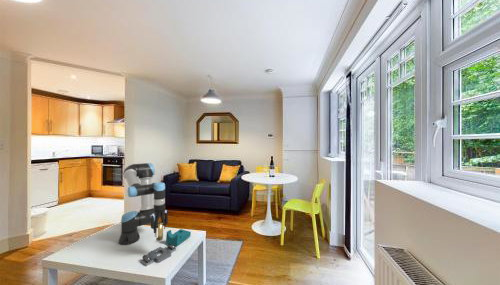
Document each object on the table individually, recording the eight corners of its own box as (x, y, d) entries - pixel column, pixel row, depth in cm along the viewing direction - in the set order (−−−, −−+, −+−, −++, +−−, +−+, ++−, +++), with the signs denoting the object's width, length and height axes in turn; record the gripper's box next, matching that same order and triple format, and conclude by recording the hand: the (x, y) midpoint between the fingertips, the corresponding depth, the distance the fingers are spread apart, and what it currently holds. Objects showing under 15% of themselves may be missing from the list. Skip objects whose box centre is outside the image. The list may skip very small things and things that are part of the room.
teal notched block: (176, 247, 157) (177, 235, 157) (165, 244, 160) (166, 231, 160) (190, 237, 174) (191, 225, 174) (180, 234, 177) (181, 223, 177)
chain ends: (138, 260, 139) (138, 254, 139) (168, 246, 158) (168, 241, 158) (149, 268, 131) (149, 261, 131) (178, 252, 150) (178, 246, 150)
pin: (154, 239, 144) (154, 223, 144) (160, 236, 148) (160, 220, 148) (158, 241, 141) (158, 225, 141) (164, 238, 145) (164, 222, 145)
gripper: (150, 208, 135) (150, 242, 135) (173, 201, 149) (173, 232, 149) (144, 206, 139) (144, 239, 139) (167, 200, 153) (167, 230, 154)
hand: (159, 235), depth 144 cm, fingers closed on pin, 4 cm apart
